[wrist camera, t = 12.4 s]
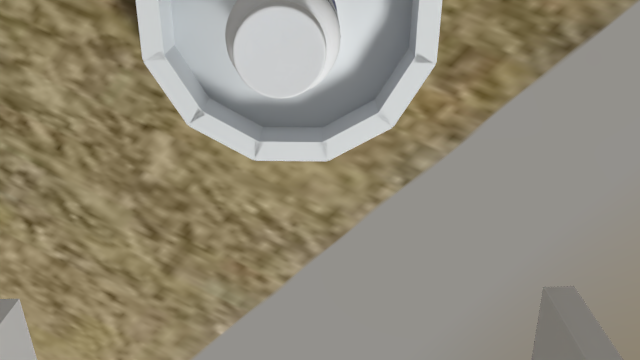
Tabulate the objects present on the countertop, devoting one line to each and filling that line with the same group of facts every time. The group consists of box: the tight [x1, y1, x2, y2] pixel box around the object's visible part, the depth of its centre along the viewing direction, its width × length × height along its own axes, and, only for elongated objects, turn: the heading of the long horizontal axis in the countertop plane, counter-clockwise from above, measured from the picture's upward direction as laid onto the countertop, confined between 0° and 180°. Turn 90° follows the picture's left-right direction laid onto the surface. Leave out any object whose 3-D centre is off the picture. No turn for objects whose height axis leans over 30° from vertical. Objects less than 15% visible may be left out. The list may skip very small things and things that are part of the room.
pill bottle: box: [225, 0, 341, 99], centre depth 29 cm, size 5×5×10 cm
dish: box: [136, 0, 442, 161], centre depth 33 cm, size 16×16×4 cm
